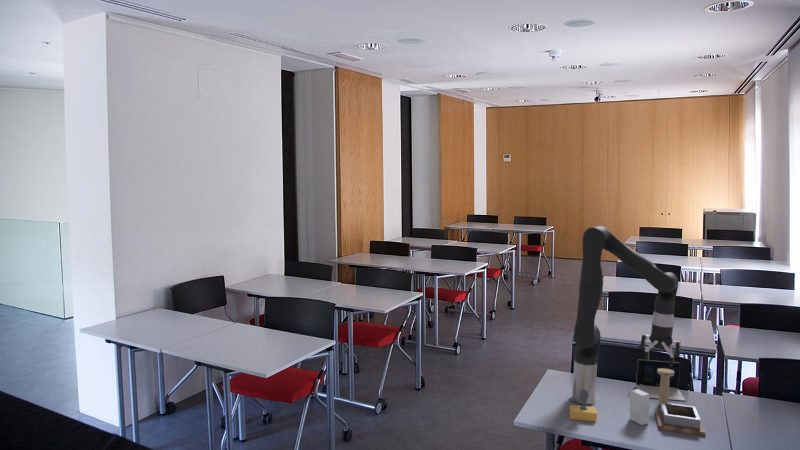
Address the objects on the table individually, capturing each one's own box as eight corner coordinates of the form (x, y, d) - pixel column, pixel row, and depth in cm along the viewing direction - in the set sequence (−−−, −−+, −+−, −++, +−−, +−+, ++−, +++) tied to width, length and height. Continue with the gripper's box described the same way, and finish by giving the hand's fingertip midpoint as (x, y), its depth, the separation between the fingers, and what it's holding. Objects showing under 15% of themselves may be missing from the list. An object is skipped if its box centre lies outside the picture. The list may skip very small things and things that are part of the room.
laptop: (641, 398, 251) (643, 369, 249) (635, 386, 263) (637, 359, 261) (686, 402, 247) (688, 372, 246) (677, 390, 259) (680, 362, 258)
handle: (672, 408, 240) (675, 373, 239) (655, 406, 242) (658, 371, 240) (670, 403, 245) (673, 369, 243) (654, 401, 247) (656, 367, 245)
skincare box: (649, 423, 226) (651, 394, 225) (640, 425, 225) (642, 396, 223) (636, 417, 232) (638, 388, 230) (628, 419, 230) (630, 390, 228)
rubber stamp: (594, 415, 233) (596, 387, 231) (596, 422, 227) (598, 393, 226) (569, 413, 235) (570, 384, 233) (570, 419, 229) (571, 390, 228)
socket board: (659, 429, 222) (660, 415, 221) (655, 412, 236) (656, 399, 235) (705, 436, 217) (706, 422, 216) (698, 418, 231) (699, 405, 230)
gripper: (641, 321, 226) (637, 361, 228) (680, 329, 218) (676, 370, 220) (645, 317, 232) (641, 356, 234) (684, 325, 224) (680, 364, 226)
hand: (658, 363), depth 227 cm, fingers open, 8 cm apart
